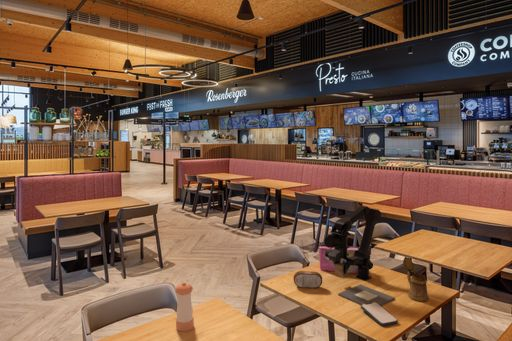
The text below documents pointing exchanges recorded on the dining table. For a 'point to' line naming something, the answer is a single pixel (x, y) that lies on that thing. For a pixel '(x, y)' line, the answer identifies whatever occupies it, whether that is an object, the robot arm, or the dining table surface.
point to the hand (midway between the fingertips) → (341, 272)
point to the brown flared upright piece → (416, 283)
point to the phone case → (379, 314)
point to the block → (340, 270)
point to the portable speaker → (307, 279)
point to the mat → (365, 295)
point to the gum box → (329, 264)
